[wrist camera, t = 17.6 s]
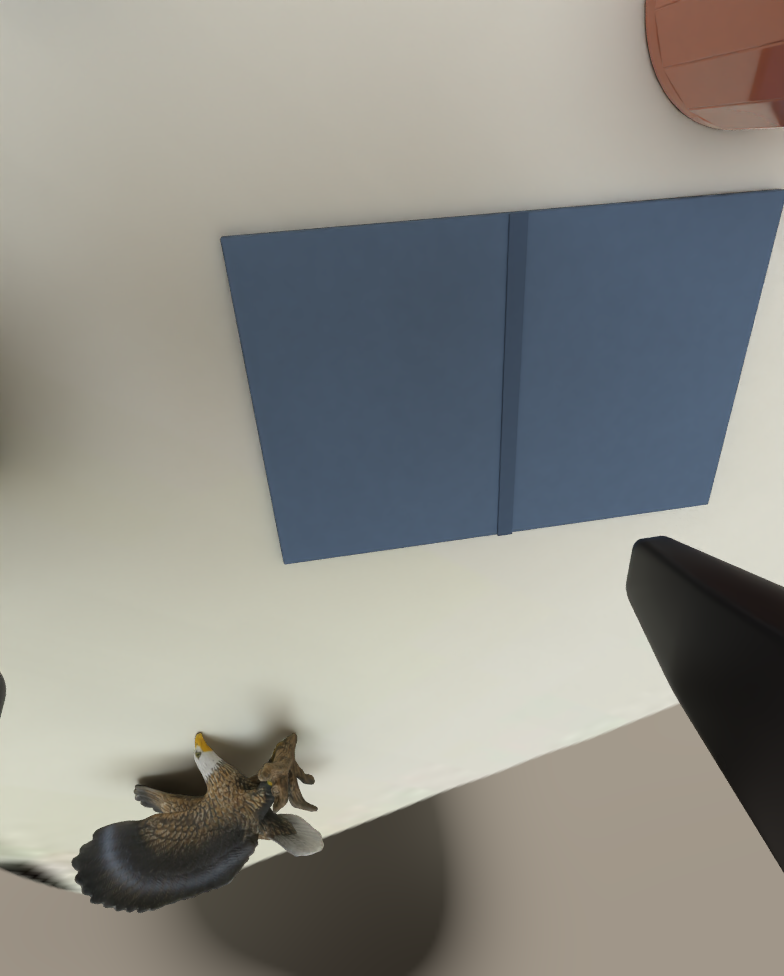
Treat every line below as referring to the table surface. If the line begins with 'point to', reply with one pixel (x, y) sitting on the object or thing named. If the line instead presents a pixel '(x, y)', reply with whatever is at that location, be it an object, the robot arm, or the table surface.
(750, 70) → the pencil cup
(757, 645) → the robot arm
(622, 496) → the napkin
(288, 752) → the eagle figurine
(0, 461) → the table surface
